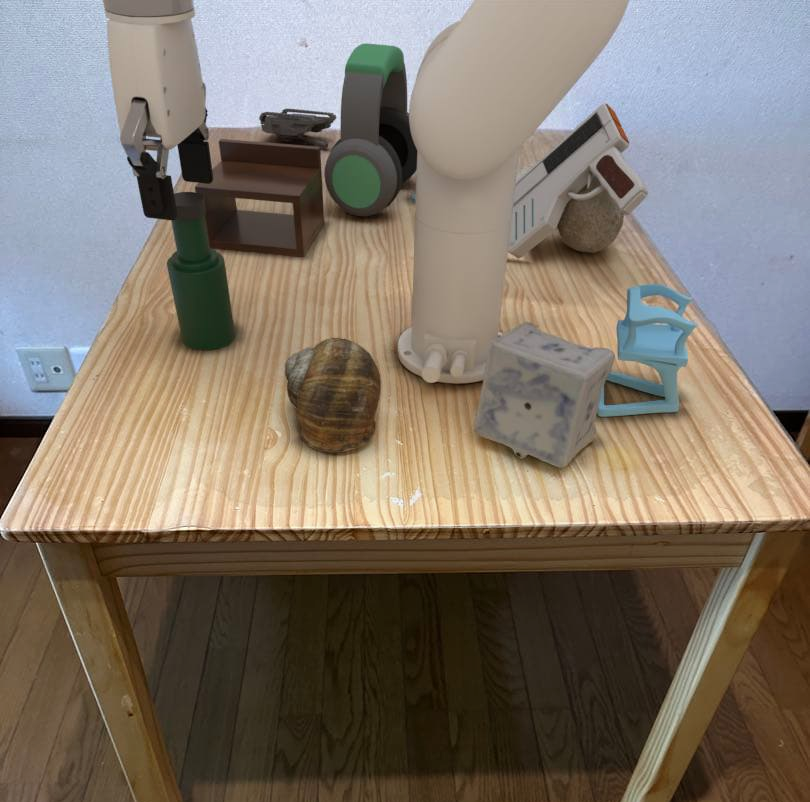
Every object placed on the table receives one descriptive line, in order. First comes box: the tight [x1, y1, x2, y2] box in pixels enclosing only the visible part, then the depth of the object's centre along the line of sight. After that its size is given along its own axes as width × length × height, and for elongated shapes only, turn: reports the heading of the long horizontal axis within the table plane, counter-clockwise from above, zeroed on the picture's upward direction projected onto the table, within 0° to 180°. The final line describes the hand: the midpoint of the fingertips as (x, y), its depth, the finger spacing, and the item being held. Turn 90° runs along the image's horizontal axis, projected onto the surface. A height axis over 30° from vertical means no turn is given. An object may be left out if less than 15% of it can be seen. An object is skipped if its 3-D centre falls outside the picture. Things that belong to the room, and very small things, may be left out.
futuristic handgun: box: [508, 102, 649, 259], centre depth 100 cm, size 3×20×15 cm
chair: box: [596, 283, 698, 418], centre depth 78 cm, size 8×8×12 cm
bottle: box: [166, 191, 236, 351], centre depth 84 cm, size 6×6×16 cm
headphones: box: [324, 43, 417, 217], centre depth 113 cm, size 19×11×20 cm, turn 164°
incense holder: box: [473, 321, 616, 468], centre depth 73 cm, size 10×8×10 cm
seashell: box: [284, 336, 382, 453], centre depth 76 cm, size 11×9×8 cm
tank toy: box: [258, 108, 337, 149], centre depth 136 cm, size 12×10×5 cm
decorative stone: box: [557, 176, 625, 254], centre depth 104 cm, size 10×8×10 cm
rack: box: [194, 138, 325, 258], centre depth 106 cm, size 11×14×10 cm
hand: (180, 199), depth 79 cm, fingers open, 9 cm apart
